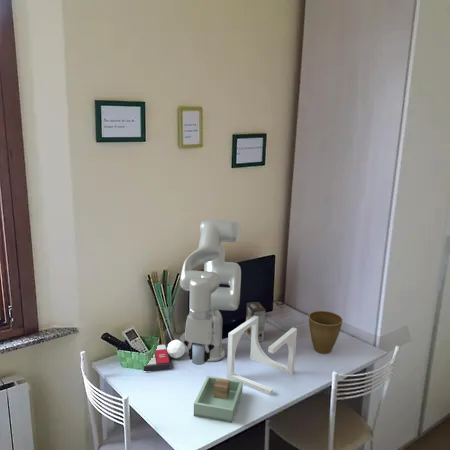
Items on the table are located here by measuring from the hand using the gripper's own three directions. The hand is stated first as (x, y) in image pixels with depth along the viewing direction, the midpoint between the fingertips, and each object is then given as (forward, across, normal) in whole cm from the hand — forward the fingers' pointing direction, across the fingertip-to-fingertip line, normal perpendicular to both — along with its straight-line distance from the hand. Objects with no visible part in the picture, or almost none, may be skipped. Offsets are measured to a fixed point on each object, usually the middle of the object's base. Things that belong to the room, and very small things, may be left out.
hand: (199, 358), depth 170 cm
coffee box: (+17, -10, -55) cm, 59 cm away
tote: (+18, -8, -1) cm, 19 cm away
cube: (+17, -7, -6) cm, 19 cm away
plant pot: (+17, -42, -53) cm, 70 cm away
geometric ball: (+18, +19, -27) cm, 38 cm away
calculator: (+18, +26, -21) cm, 38 cm away
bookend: (+18, -19, -24) cm, 36 cm away
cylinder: (+1, 0, 0) cm, 1 cm away
